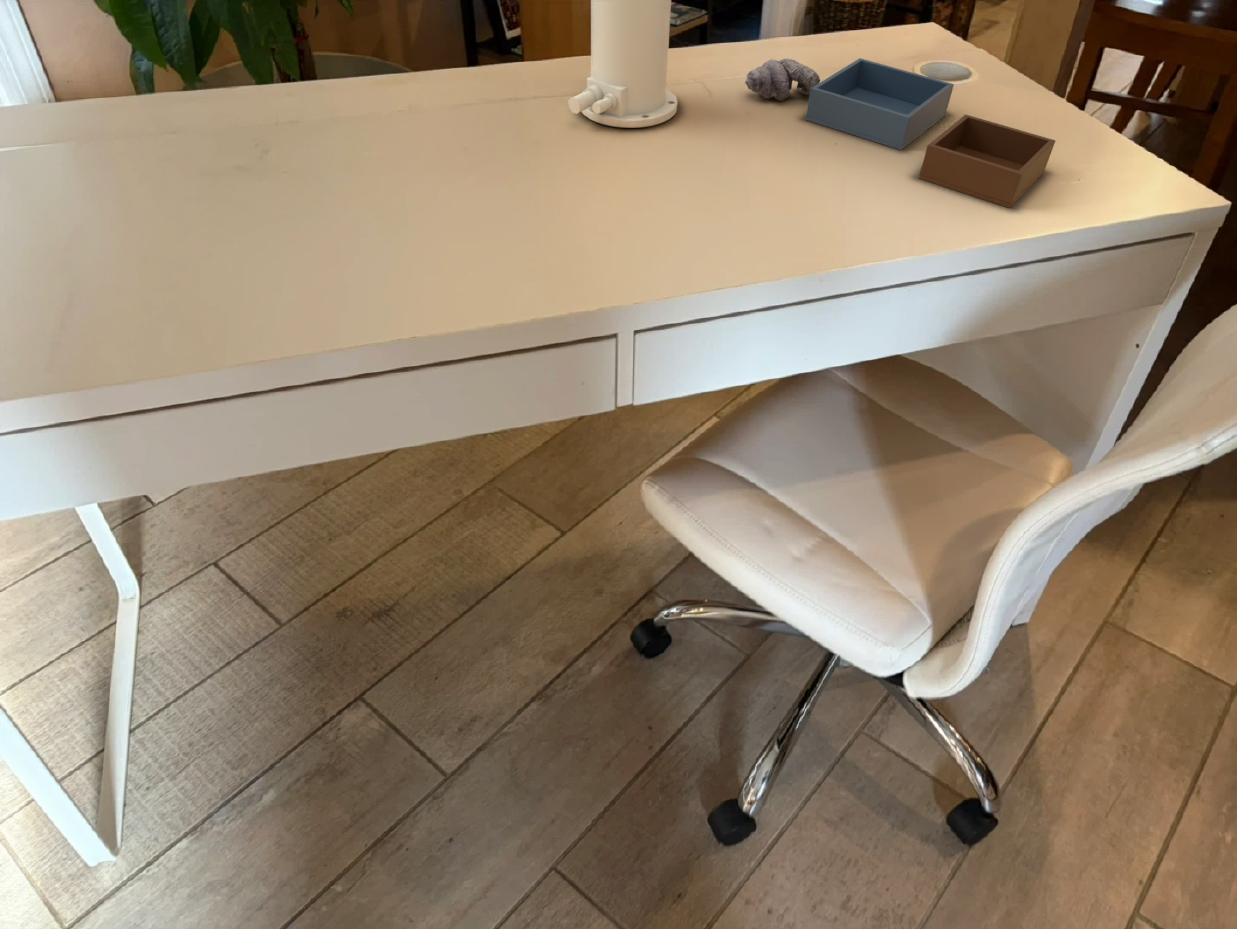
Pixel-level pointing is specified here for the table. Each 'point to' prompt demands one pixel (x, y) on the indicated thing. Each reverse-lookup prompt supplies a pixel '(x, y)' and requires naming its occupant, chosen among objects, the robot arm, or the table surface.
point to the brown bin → (986, 160)
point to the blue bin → (879, 102)
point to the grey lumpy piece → (781, 78)
